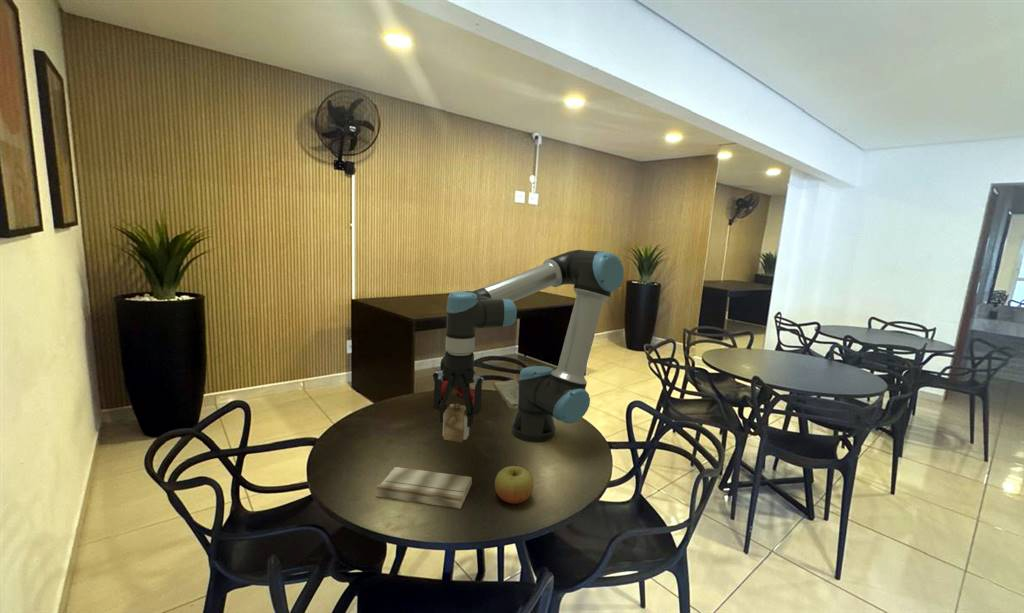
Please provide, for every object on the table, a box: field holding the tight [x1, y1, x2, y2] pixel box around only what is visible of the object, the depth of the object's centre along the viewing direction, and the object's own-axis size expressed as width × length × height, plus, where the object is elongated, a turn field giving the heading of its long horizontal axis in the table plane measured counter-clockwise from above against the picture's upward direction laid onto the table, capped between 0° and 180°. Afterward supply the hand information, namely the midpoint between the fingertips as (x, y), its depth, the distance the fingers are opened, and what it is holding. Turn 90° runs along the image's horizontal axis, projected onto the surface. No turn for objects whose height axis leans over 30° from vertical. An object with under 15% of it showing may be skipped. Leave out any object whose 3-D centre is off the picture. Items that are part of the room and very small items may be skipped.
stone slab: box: [492, 379, 519, 411], centre depth 181 cm, size 12×4×30 cm
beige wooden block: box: [443, 403, 467, 443], centre depth 114 cm, size 5×8×9 cm, turn 169°
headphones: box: [441, 380, 475, 409], centre depth 172 cm, size 15×7×20 cm
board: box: [376, 466, 473, 510], centre depth 114 cm, size 22×11×3 cm, turn 81°
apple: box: [494, 465, 534, 505], centre depth 112 cm, size 10×10×8 cm
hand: (455, 435), depth 116 cm, fingers closed on beige wooden block, 5 cm apart
